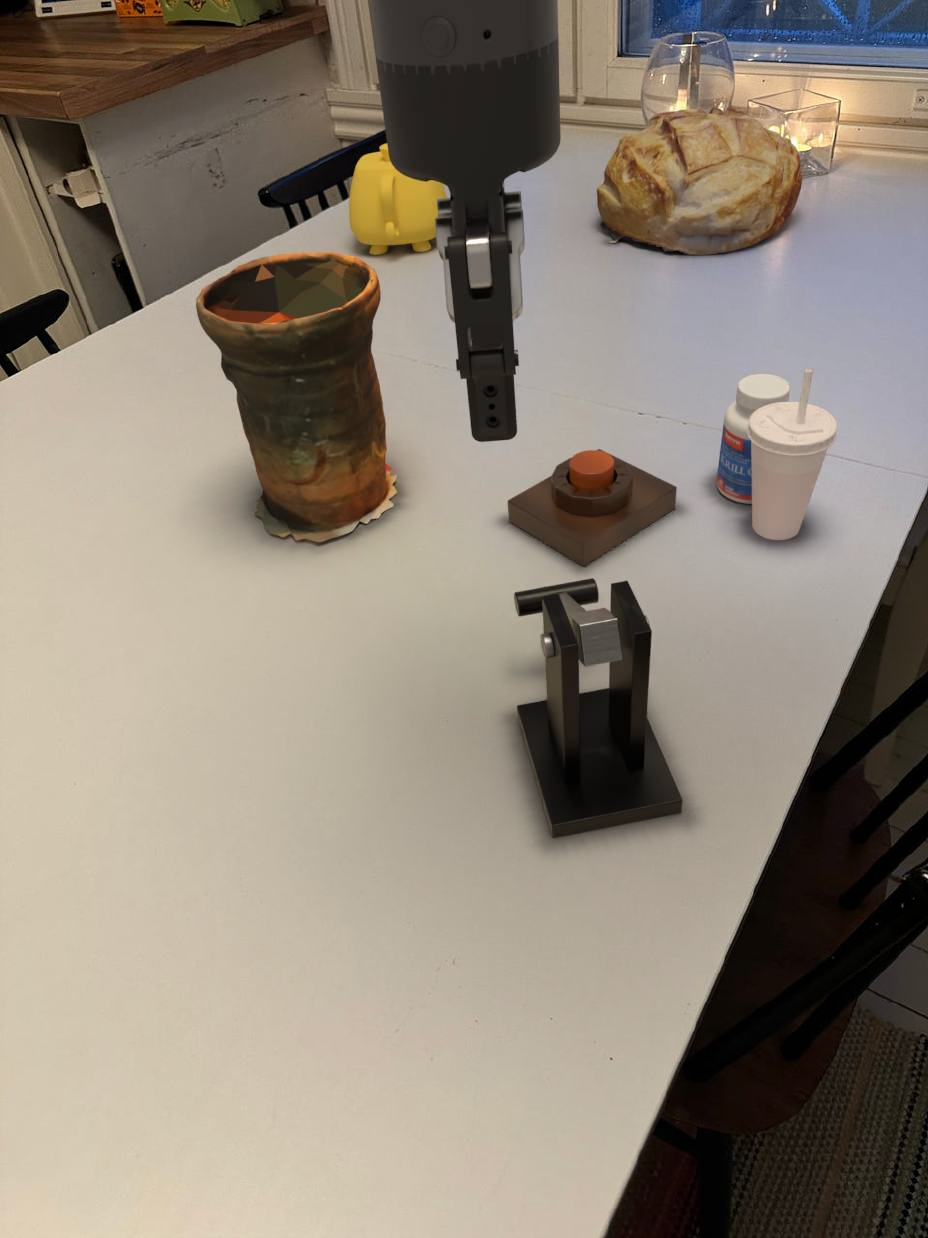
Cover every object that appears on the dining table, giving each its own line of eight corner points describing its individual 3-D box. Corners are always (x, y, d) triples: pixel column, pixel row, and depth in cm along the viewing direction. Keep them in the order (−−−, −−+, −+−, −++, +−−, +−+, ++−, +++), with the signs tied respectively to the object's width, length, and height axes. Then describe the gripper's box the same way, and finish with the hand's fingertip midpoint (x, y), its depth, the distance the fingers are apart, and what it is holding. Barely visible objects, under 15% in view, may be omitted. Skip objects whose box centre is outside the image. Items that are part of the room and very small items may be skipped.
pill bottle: (705, 495, 80) (715, 392, 73) (730, 464, 83) (742, 363, 76) (767, 512, 77) (783, 407, 70) (791, 480, 80) (808, 376, 74)
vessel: (440, 503, 82) (412, 282, 69) (295, 566, 77) (234, 341, 64) (366, 438, 92) (328, 233, 79) (232, 491, 87) (168, 281, 74)
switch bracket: (517, 716, 63) (505, 570, 54) (632, 695, 63) (638, 546, 55) (552, 838, 55) (545, 690, 47) (682, 812, 56) (698, 661, 47)
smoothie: (792, 560, 72) (822, 399, 63) (719, 532, 76) (737, 375, 66) (831, 520, 75) (865, 361, 66) (760, 495, 79) (782, 340, 70)
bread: (615, 199, 141) (608, 90, 131) (806, 187, 131) (814, 67, 121) (574, 266, 124) (562, 145, 114) (789, 257, 114) (797, 125, 104)
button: (591, 462, 78) (591, 444, 77) (622, 478, 76) (623, 460, 75) (560, 480, 77) (560, 462, 76) (592, 497, 75) (591, 478, 74)
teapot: (345, 267, 126) (328, 168, 118) (367, 216, 141) (353, 125, 133) (445, 261, 125) (434, 159, 116) (456, 210, 139) (448, 117, 131)
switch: (517, 618, 63) (511, 585, 63) (594, 604, 64) (590, 570, 63) (555, 672, 51) (549, 631, 50) (652, 654, 51) (647, 612, 50)
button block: (598, 469, 84) (599, 430, 81) (675, 508, 79) (678, 468, 76) (508, 521, 79) (505, 482, 77) (583, 567, 74) (583, 526, 71)
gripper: (571, 64, 32) (576, 463, 43) (548, -5, 43) (557, 329, 53) (357, 86, 33) (415, 475, 43) (387, 13, 43) (428, 340, 54)
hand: (493, 394), depth 48 cm, fingers open, 8 cm apart
